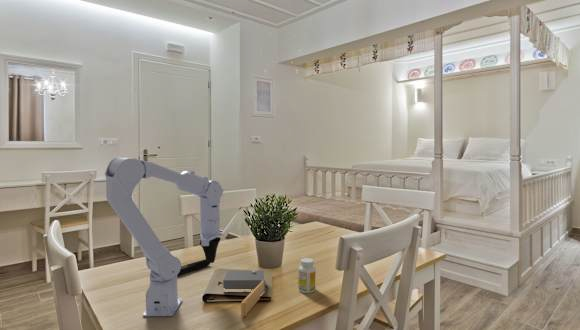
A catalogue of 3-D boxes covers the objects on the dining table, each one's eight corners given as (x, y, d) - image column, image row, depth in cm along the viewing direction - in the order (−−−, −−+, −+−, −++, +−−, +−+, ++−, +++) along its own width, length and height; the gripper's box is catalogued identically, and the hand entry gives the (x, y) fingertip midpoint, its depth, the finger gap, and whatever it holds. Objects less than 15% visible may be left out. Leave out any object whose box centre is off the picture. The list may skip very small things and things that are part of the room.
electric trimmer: (212, 267, 129) (212, 259, 129) (174, 278, 118) (174, 269, 117) (207, 264, 132) (207, 256, 131) (169, 275, 120) (169, 267, 120)
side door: (266, 292, 106) (266, 280, 105) (244, 318, 90) (244, 303, 90) (262, 292, 106) (262, 279, 106) (240, 317, 91) (240, 302, 91)
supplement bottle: (299, 293, 105) (299, 263, 105) (297, 286, 111) (297, 257, 110) (316, 293, 106) (316, 262, 105) (313, 285, 111) (314, 257, 111)
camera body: (262, 292, 106) (262, 278, 106) (223, 292, 106) (223, 278, 106) (263, 280, 115) (263, 267, 115) (228, 281, 115) (228, 268, 115)
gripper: (218, 224, 98) (219, 270, 99) (227, 213, 113) (227, 254, 114) (193, 224, 98) (194, 270, 99) (205, 213, 113) (206, 254, 113)
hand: (210, 262), depth 106 cm, fingers closed
